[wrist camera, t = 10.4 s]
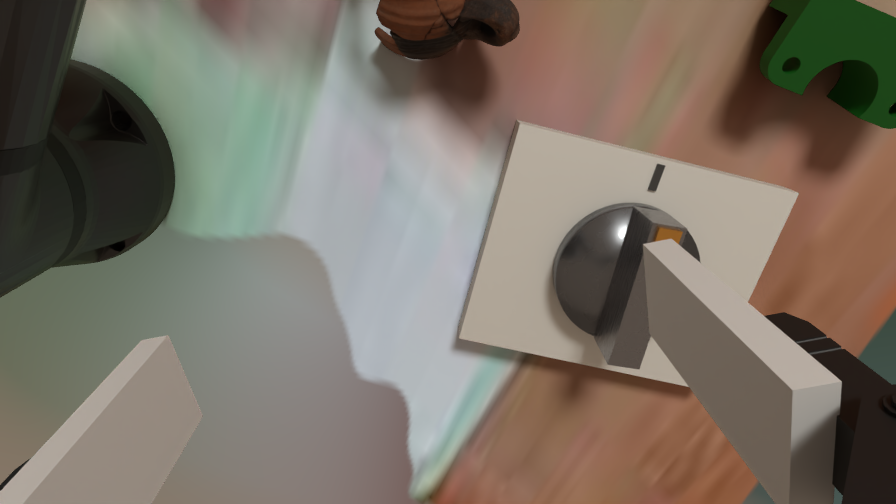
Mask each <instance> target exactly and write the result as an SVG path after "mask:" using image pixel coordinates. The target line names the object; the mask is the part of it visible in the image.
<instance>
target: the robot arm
mask: <svg viewBox="0 0 896 504" xmlns="http://www.w3.org/2000/svg"><path fill="white" fill-rule="evenodd" d="M85 4H86V0H0V297H2V296H4V295H5V294H7V293H9V292H10V291H12V290H14V289H16V288H17V287H19V286H21V285H22V284H24V283H26V282H28V281H29V280H31V279H32V278H34V277H36V276H38V275H39V274H41V273H43V272H44V271H46V270H48V269H49V268H51V267H60V266H69V265H78V264H87V263H95V262H100V261H104V260H107V259H110V258H113V257H116V256H118V255H120V254H122V253H124V252H126V251H128V250H129V249H131V248H132V247H134V246H136V245H137V244H139V243H140V242H142V241H143V240H144V239H146V238H147V237H148V236H150V235H151V234H152V233H153V232H154V231H155V230H156V229H157V227H158V226H159V225H160V224H161V222H162V221H163V219H164V217H165V216H166V214H167V212H168V209H169V207H170V204H171V201H172V197H173V192H174V182H175V174H174V163H173V158H172V154H171V150H170V147H169V144H168V141H167V139H166V136H165V134H164V132H163V130H162V128H161V126H160V124H159V123H158V121H157V119H156V118H155V116H154V115H153V113H152V112H151V111H150V109H149V108H148V107H147V106H146V104H145V103H144V102H143V101H142V100H141V99H140V98H139V97H138V96H137V95H136V94H135V93H134V92H133V91H132V90H131V89H129V88H128V87H127V86H126V85H124V84H123V83H122V82H121V81H119V80H118V79H116V78H115V77H113V76H111V75H110V74H108V73H106V72H104V71H102V70H100V69H98V68H96V67H94V66H91V65H88V64H86V63H82V62H79V61H75V60H70V59H71V55H72V52H73V48H74V44H75V41H76V37H77V33H78V29H79V26H80V22H81V18H82V15H83V11H84V7H85ZM643 253H644V267H645V280H646V294H647V308H648V321H649V334H650V335H651V336H652V338H653V339H654V340H655V342H656V343H657V344H658V346H659V347H660V348H661V350H662V351H663V352H664V354H665V355H666V356H667V358H668V359H669V361H670V362H671V363H672V365H673V366H674V367H675V369H676V370H677V371H678V373H679V374H680V375H681V377H682V378H683V379H684V381H685V382H686V383H687V385H688V386H689V388H690V389H691V390H692V392H693V393H694V394H695V396H696V397H697V398H698V400H699V401H700V402H701V404H702V405H703V406H704V408H705V409H706V411H707V412H708V413H709V415H710V416H711V417H712V419H713V420H714V421H715V423H716V424H717V425H718V427H719V428H720V429H721V431H722V432H723V433H724V435H725V436H726V438H727V439H728V440H729V442H730V443H731V444H732V446H733V447H734V448H735V450H736V451H737V452H738V454H739V455H740V456H741V458H742V459H743V460H744V462H745V463H746V465H747V466H748V467H749V469H750V470H751V471H752V473H753V474H754V475H755V477H756V478H757V479H758V481H759V482H760V483H761V485H762V486H763V487H764V489H765V490H766V491H767V493H768V494H769V495H770V497H771V498H772V500H773V501H774V502H775V503H776V504H833V502H834V487H836V489H837V490H838V491H839V492H840V493H841V494H842V495H843V500H842V504H896V385H891V384H890V383H889V382H887V381H886V380H885V379H883V378H882V377H881V376H880V375H878V374H877V373H876V372H874V371H873V370H872V369H870V368H869V367H868V366H866V365H865V364H864V363H862V362H861V361H860V360H858V359H857V358H856V357H854V356H853V355H852V354H850V353H849V352H848V351H846V350H845V349H841V346H840V345H839V344H837V343H836V342H835V341H833V340H832V339H831V338H827V337H826V335H825V334H824V333H823V332H821V331H820V330H819V329H817V328H816V327H815V326H813V325H812V324H811V323H809V322H808V321H805V320H802V319H800V318H797V317H795V316H792V315H789V314H787V313H784V312H783V313H778V314H772V315H767V316H763V315H762V314H761V313H760V312H758V311H757V310H756V309H755V308H754V307H752V306H751V305H750V304H749V303H748V302H746V301H745V300H744V299H743V298H742V297H741V296H739V295H738V294H737V293H736V292H735V291H733V290H732V289H731V288H730V287H729V286H727V285H726V284H725V283H724V282H723V281H721V280H720V279H719V278H718V277H717V276H716V275H714V274H713V273H712V272H711V271H710V270H708V269H707V268H706V267H705V266H704V265H702V264H701V263H700V262H699V261H698V260H696V259H695V258H694V257H693V256H692V255H690V254H689V253H688V252H687V251H686V250H685V249H683V248H682V247H681V246H680V245H679V244H677V243H676V242H675V241H674V240H673V239H667V240H661V241H656V242H651V243H646V244H643ZM202 417H203V415H202V413H201V411H200V408H199V406H198V404H197V401H196V399H195V397H194V394H193V392H192V390H191V387H190V385H189V383H188V380H187V378H186V375H185V373H184V371H183V368H182V366H181V364H180V362H179V359H178V357H177V354H176V352H175V350H174V347H173V345H172V343H171V340H170V338H169V336H168V335H166V336H161V337H156V338H151V339H145V340H141V341H140V342H139V344H138V345H137V346H136V347H135V348H134V349H133V350H132V351H131V352H130V353H129V354H128V355H127V356H126V357H125V358H124V360H123V361H122V362H121V363H120V364H119V365H118V366H117V367H116V368H115V369H114V370H113V371H112V372H111V373H110V374H109V376H108V377H107V378H106V379H105V380H104V381H103V382H102V383H101V384H100V385H99V386H98V387H97V388H96V390H95V391H94V392H93V393H92V394H91V395H90V396H89V397H88V398H87V399H86V400H85V401H84V402H83V403H82V404H81V406H80V407H79V408H78V409H77V410H76V411H75V412H74V413H73V414H72V415H71V416H70V417H69V418H68V419H67V420H66V421H65V423H64V424H63V425H62V426H61V427H60V428H59V429H58V430H57V431H56V432H55V433H54V434H53V435H52V436H51V438H50V439H49V440H48V441H47V442H46V443H45V444H44V445H43V446H42V447H41V448H40V449H39V450H38V451H37V453H36V454H35V455H34V456H33V457H32V458H30V459H29V460H27V461H26V462H25V463H23V464H22V465H21V466H19V467H18V468H17V469H15V470H14V471H13V472H12V473H11V474H10V475H9V477H8V478H7V479H6V480H5V481H4V482H3V483H2V484H1V485H0V504H152V502H153V500H154V499H155V497H156V495H157V494H158V492H159V490H160V488H161V487H162V485H163V483H164V481H165V480H166V478H167V477H168V475H169V473H170V471H171V470H172V468H173V466H174V465H175V463H176V461H177V460H178V458H179V456H180V454H181V453H182V451H183V449H184V448H185V446H186V444H187V443H188V441H189V439H190V437H191V436H192V434H193V432H194V431H195V429H196V427H197V425H198V424H199V422H200V420H201V419H202Z"/></svg>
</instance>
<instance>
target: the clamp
mask: <svg viewBox="0 0 896 504" xmlns="http://www.w3.org/2000/svg"><path fill="white" fill-rule="evenodd" d="M769 6H771V7H773V8H775V9H777V10H779V11H781V12H783V13H785V14H787V15H788V16H787V18H786V19H785V21H784V22H783V24H782V25H781V27H780V28H779V30H778V31H777V33H776V34H775V36H774V37H773V39H772V41H771V42H770V44H769V45H768V47H767V48H766V50H765V51H764V53H763V55H762V57H761V59H760V71H761V73H762V74H763V76H765V77H766V78H767V79H768V80H770V81H771V82H772V83H774V84H775V85H777V86H780V87H782V88H785V89H787V90H790V91H793V92H795V93H798V94H800V95H802V94H803V92H804V90H805V88H806V86H807V85H808V83H809V82H810V81H811V80H812V79H813V77H814V76H815V75H817V74H818V73H819V72H820V71H822V70H823V69H824V68H826V67H828V66H830V65H832V64H834V63H837V62H840V61H843V70H842V74H841V77H840V79H839V81H838V83H837V84H836V86H835V87H834V88H833V89H832V91H831V92H830V93H829V94H828V95H827V97H828V98H830V99H831V100H833V101H834V102H836V103H837V104H839V105H840V106H842V107H843V108H845V109H846V110H848V111H849V112H851V113H852V114H853V115H855V116H856V117H858V118H860V119H863V120H865V121H868V122H870V123H873V124H875V125H878V126H880V127H883V128H887V129H892V128H896V18H895V17H893V16H890V15H888V14H886V13H883V12H881V11H879V10H876V9H874V8H872V7H869V6H867V5H865V4H863V3H860V2H858V1H856V0H772V2H771V3H770V5H769Z"/></svg>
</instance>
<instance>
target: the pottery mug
mask: <svg viewBox="0 0 896 504" xmlns="http://www.w3.org/2000/svg"><path fill="white" fill-rule="evenodd" d="M376 14H377V16H378V18H379V21H380V22H381V24H382V25H383V26H385V27H387V28H389V29H390V30H391V31H390V34H391V36H392V37H391V36H390V35H388V34H387V33H386V32H384V31H383V30H382V29H381V28H379V27H378V28H376V30H375V34H376V36H377V37H378V38H379V39H380V40H381V42H382V43H383V45H385V46H386V47H387V48H388V49H389V50H391V51H393V52H394V53H396V54H398V55H401V56H404V57H407V58H411V59H420V60H423V59H431V58H436V57H439V56H441V55H444V54H445V53H447V52H448V51H450V50H451V49H453V48H454V47H455V46H457V45H458V43H459V42H461V41H462V40H463V39H476V40H481V41H483V42H485V43H487V44H490V45H493V46H503V45H505V44H506V43H508V42H510V41H512V40H513V39H515V38H516V37H517V35H518V33H519V31H520V27H519V13H518V11H517V9H516V7H515V5H514V4H513V3H512V2H511V1H510V0H380V2H379V5H378V8H377V12H376ZM457 18H458V20H457V21H456V23H455V24H454V26H453V27H452V26H451V25H450V24H449V23H448V20H454V19H457Z"/></svg>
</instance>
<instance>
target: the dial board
mask: <svg viewBox="0 0 896 504" xmlns="http://www.w3.org/2000/svg"><path fill="white" fill-rule="evenodd" d="M798 194H799V193H798V192H795V191H793V190H790V189H788V188H786V187H783V186H779V185H775V184H771V183H767V182H763V181H759V180H755V179H751V178H747V177H743V176H739V175H735V174H731V173H727V172H723V171H719V170H715V169H711V168H707V167H703V166H699V165H695V164H691V163H687V162H683V161H679V160H675V159H671V158H667V157H663V156H659V155H655V154H651V153H647V152H643V151H639V150H635V149H631V148H627V147H623V146H619V145H615V144H611V143H607V142H603V141H599V140H595V139H591V138H587V137H583V136H579V135H575V134H571V133H567V132H563V131H559V130H555V129H551V128H547V127H543V126H539V125H535V124H531V123H527V122H523V121H519V120H516V124H515V127H514V131H513V134H512V138H511V141H510V145H509V148H508V152H507V156H506V159H505V163H504V166H503V170H502V173H501V177H500V180H499V184H498V188H497V191H496V195H495V198H494V202H493V205H492V209H491V212H490V216H489V220H488V223H487V227H486V230H485V234H484V237H483V241H482V245H481V248H480V252H479V255H478V259H477V262H476V266H475V269H474V273H473V277H472V280H471V284H470V287H469V291H468V294H467V298H466V301H465V305H464V309H463V312H462V316H461V319H460V323H459V326H458V330H459V339H464V340H469V341H474V342H478V343H483V344H488V345H493V346H497V347H502V348H507V349H512V350H516V351H521V352H526V353H530V354H535V355H540V356H545V357H549V358H554V359H559V360H564V361H568V362H573V363H578V364H583V365H587V366H592V367H597V368H602V369H606V370H611V371H616V372H621V373H625V374H630V375H635V376H640V377H644V378H649V379H654V380H659V381H663V382H668V383H673V384H678V385H682V386H687V387H689V386H688V385H687V383H686V382H685V381H684V379H683V378H682V377H681V375H680V374H679V373H678V371H677V370H676V369H675V367H674V366H673V365H672V363H671V362H670V361H669V359H668V358H667V356H666V355H665V354H664V352H663V351H662V350H661V348H660V347H659V346H658V344H657V343H656V342H655V340H654V339H653V338H652V336H651V337H650V340H649V343H648V346H647V349H646V352H645V355H644V357H643V360H642V363H641V366H640V369H632V368H626V367H619V366H613V365H608V364H607V362H606V360H605V358H604V357H603V355H602V353H601V351H600V349H599V347H598V345H597V343H596V341H595V339H594V336H592V335H590V334H588V333H586V332H584V331H583V330H581V329H580V328H578V327H577V326H576V325H575V324H574V323H573V322H572V321H571V320H570V319H569V318H568V316H567V315H566V314H565V312H564V310H563V309H562V307H561V304H560V302H559V300H558V298H557V295H556V293H555V289H554V285H553V276H552V275H553V264H554V259H555V256H556V253H557V250H558V248H559V246H560V244H561V242H562V240H563V239H564V237H565V236H566V234H567V233H568V232H569V231H570V230H571V229H572V227H573V226H574V225H576V224H577V223H578V222H579V221H580V220H581V219H583V218H584V217H586V216H587V215H589V214H590V213H592V212H594V211H596V210H598V209H601V208H603V207H606V206H609V205H613V204H619V203H642V204H647V205H651V206H654V207H656V208H659V209H661V210H663V211H664V212H666V213H668V214H669V215H670V216H672V217H673V218H674V219H676V220H677V221H678V222H679V223H681V224H682V225H683V226H685V227H686V228H687V230H688V231H689V233H690V234H691V236H692V237H693V239H694V241H695V243H696V245H697V248H698V251H699V255H700V262H701V264H702V265H704V266H705V267H706V268H707V269H708V270H710V271H711V272H712V273H713V274H714V275H716V276H717V277H718V278H719V279H720V280H721V281H723V282H724V283H725V284H726V285H727V286H729V287H730V288H731V289H732V290H733V291H735V292H736V293H737V294H738V295H739V296H741V297H742V298H743V299H744V300H745V301H746V302H748V301H749V298H750V296H751V294H752V292H753V290H754V288H755V286H756V284H757V282H758V279H759V277H760V275H761V273H762V271H763V269H764V267H765V265H766V262H767V260H768V258H769V256H770V254H771V252H772V250H773V248H774V245H775V243H776V241H777V239H778V237H779V235H780V233H781V231H782V228H783V226H784V224H785V222H786V220H787V218H788V216H789V214H790V211H791V209H792V207H793V205H794V203H795V201H796V199H797V197H798Z"/></svg>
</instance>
